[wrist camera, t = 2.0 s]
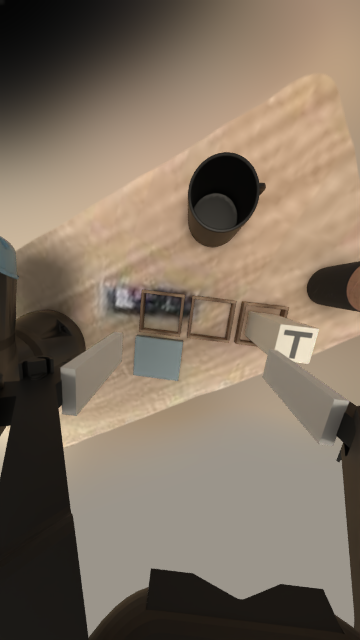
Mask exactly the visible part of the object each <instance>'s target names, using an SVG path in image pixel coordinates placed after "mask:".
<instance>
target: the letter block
mask: <svg viewBox="0 0 360 640" xmlns="http://www.w3.org/2000/svg"><path fill="white" fill-rule="evenodd" d="M318 331H319V329H318V328H315V327H312V326H309V325H306V324H303V323H300V322H297V321H293V320H290V319H287V318H284V317H281V316H278V315H275V314H269V313H261V312H253V311H249V313H248V318H247V323H246V328H245V333H244V335H245V336H246V337H248V338H249V339H250V340H251V341H252V342H253V343H254V344H256V345H257V346H258V347H259V348H260V349H261V350H262V351H264V352H265V353H266V354H267V355H268V352H269V349H270V350H278V351H279V352H281V353H282V354H283V355H285V356H286V357H288V358H289V359H290V360H292V361H293V362H298V363H306V364H309V362H310V358H311V355H312V352H313V348H314V345H315V342H316V338H317V335H318Z"/></svg>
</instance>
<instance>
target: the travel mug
mask: <svg viewBox="0 0 360 640" xmlns="http://www.w3.org/2000/svg"><path fill="white" fill-rule="evenodd" d="M307 292H308V295H309V297H310V299H311V300H312V301H314V302H315V303H317V304H321V305H325V306H331V307H336V308H342V309H347V310H353V311H358V312H360V261H359V262H354V263H348V264H342V265H337V266H331V267H326V268H323V269H321V270H319V271H317V272H316V273H315V274H314V275H313V276H312V277H311V278H310V280H309V282H308V286H307Z"/></svg>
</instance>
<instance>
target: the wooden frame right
mask: <svg viewBox="0 0 360 640" xmlns="http://www.w3.org/2000/svg"><path fill="white" fill-rule="evenodd" d="M246 305H250V306H259V307H267V308H276V309H281V313H280V316H281V317H284V318H287V314H288V310H289V307H285V306H276V305H268V304H259V303H251V302H243V301H242V304H241V309H240V315H239V320H238V325H237V330H236V336H235V341H234V342H235V343H236V344H241V345H249V346H257V345H256V344H254V343H253V342H252V341H245V340H240V336H241V331H242V326H243V321H244V315H245V310H246ZM257 347H258V346H257Z"/></svg>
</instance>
